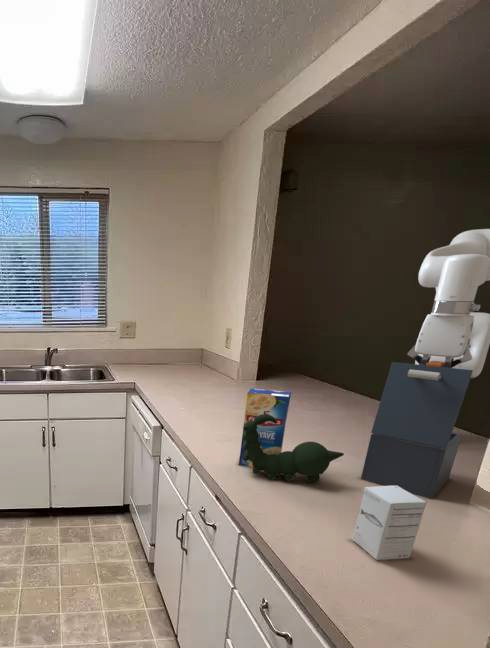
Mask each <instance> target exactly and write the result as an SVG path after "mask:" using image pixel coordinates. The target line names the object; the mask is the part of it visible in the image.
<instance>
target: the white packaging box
mask: <svg viewBox="0 0 490 648" xmlns="http://www.w3.org/2000/svg"><path fill="white" fill-rule="evenodd" d="M426 506H427V501H425V500H424V499H422V498H420V497H419V496H416V494H413V493H410V492H408V491H406V490H404V489H402V488H400V487H399V486H385V485H376V486H365V487H364V491H363V495H362V499H361V503H360V506H359V510H358V515H357V518H356V522H355V527H354V531H353V535H352V538H351V540H352V541H353V542H354V543H356V544H357V545H358V546H359V547H360V548H362V549H363V550H364V551H365V552H367V553H368V554H369V555H370V556H371V557H372V558H374V559H375V560H376V561H384V560H387V561H388V560H400V559H401V560H402V559H403V560H404V559H409V558H410V557H411V554H412V551H413V548H414V544H415V541H416V538H417V535H418V531H419V528H420V525H421V521H422V518H423V515H424V512H425V509H426Z"/></svg>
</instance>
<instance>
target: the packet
mask: <svg viewBox="0 0 490 648" xmlns="http://www.w3.org/2000/svg"><path fill="white" fill-rule="evenodd" d="M426 365H427V366H436V367H444V365H445V362H441V361H431V362H428V363H426Z"/></svg>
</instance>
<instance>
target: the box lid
mask: <svg viewBox="0 0 490 648" xmlns="http://www.w3.org/2000/svg"><path fill="white" fill-rule="evenodd" d="M472 372H473V370H465V369H456V368H446V367H436V366H427V365H417V364H415V363H408V362H397V361H392V362H391V365H390V368H389V372H388V375H387V378H386V382H385V385H384V387H383V392H382V394H381V399H380V401H379V404H378V405H379V406H378V408H377V411H376V414H375V415H376V416H375V418H374V422H373V425H372V428H371V432H370V434H373V433H374V434H379V435H384V436H388V437H393V438H398V439H403V440H407V441H412V442H417V443H422V444H426V445H431V446H436V447H441V448H445V449H447V446H448V443H449V440H450V437H451V434H452V433H453V431H454V429H455V424H456V423H457V419H458V417H459V413H460V410H461V408H462V404H463V401H464V399H465V396H466V392H467V389H468V387H469V384H470V380H471V379H472V378H471V375H472Z"/></svg>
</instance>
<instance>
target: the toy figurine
mask: <svg viewBox="0 0 490 648" xmlns="http://www.w3.org/2000/svg"><path fill="white" fill-rule="evenodd" d="M267 421H271V422H274V423H275V424H276V423H277V420H276V419H275V418H274V417H273V416H271V415H268V414H262V415H258V416H256V418H255V419H254V422H253V421H248V422H246V423H244V422H243V425H242V430H243V429H244V430H245V432H244V433H243V432H242V435H243V439H245V441H244V442H243V445H244V446H243V449H244V450H246V452H244V453H243V457H242V459H243V460H244V461H248V460H249V461H251V462H252V464H253V467H252V469H251V471H252V473H253V474H255V475H257V474H260V472H262V471H263V473H264V474H266V475H267V478H268V479H269V480H275V478H276V476H280V475H283V478H284V479H285V480H286V481H294V479H295V475H296V474H299V475H301V476H304V477H306V480H307V481H308V482H309V483H313V484H314V483H318V482H319V481H320V478H321V475H324V473H325V472H326V471H327V469H328V468H329V466H330V464H331V462H332V461H334V460H337V459H339V458H341V457H343V456H344V455H345V453H344V452H340V451H333V450H328V449H327V448H326V447H325V446H324V445H323V444H321V443H319V442H316V441H304V442H302V443H299V444H298V445H296V446H295V447H294V448H293V449H292V450H286V451H281V453H280V454H279V455H277V454H269V455H268V454H266V453H263V450H262V449H261V448H260V442H259V440H258V436H259V434H258V432H257V431H256V430H257V425H261V424H263V423H264V422H267Z"/></svg>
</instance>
